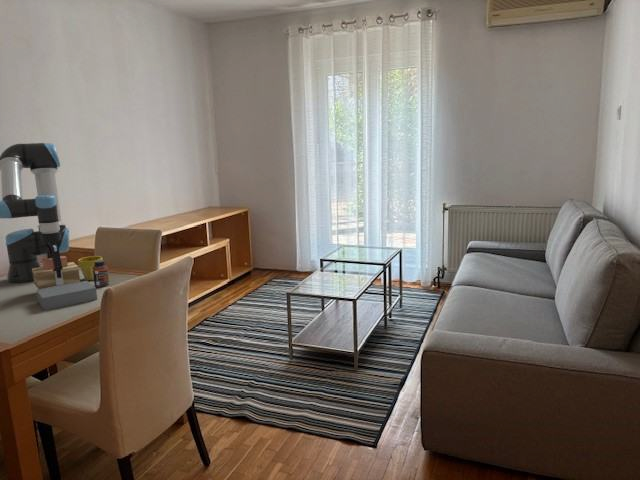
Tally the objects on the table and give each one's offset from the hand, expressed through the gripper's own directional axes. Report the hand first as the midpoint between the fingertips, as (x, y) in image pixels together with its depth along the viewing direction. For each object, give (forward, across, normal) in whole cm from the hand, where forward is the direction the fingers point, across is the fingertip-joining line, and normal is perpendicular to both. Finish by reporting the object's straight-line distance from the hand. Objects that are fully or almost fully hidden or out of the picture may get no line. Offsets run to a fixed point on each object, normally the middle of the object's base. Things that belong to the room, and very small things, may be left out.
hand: (57, 282), depth 206 cm
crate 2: (-7, 0, +2) cm, 7 cm away
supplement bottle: (+4, +6, +16) cm, 18 cm away
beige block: (0, 0, 0) cm, 0 cm away
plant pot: (+4, -10, +16) cm, 20 cm away
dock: (+4, +18, 0) cm, 19 cm away
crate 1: (-7, 0, -2) cm, 7 cm away
